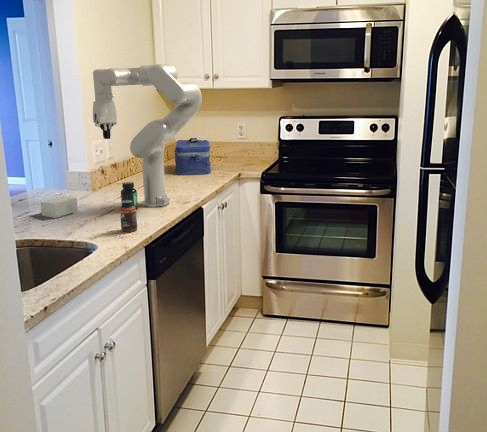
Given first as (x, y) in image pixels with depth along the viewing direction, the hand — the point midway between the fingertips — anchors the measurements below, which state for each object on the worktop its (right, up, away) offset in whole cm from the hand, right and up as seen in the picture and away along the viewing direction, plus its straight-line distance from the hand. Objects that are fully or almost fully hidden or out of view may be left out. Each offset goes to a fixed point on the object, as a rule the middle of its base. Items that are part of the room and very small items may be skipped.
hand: (107, 138), depth 255 cm
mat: (-19, -35, -17) cm, 43 cm away
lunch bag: (+32, -9, +82) cm, 88 cm away
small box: (-13, -30, -11) cm, 34 cm away
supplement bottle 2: (+19, -41, -44) cm, 63 cm away
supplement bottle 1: (+13, -33, -12) cm, 37 cm away
